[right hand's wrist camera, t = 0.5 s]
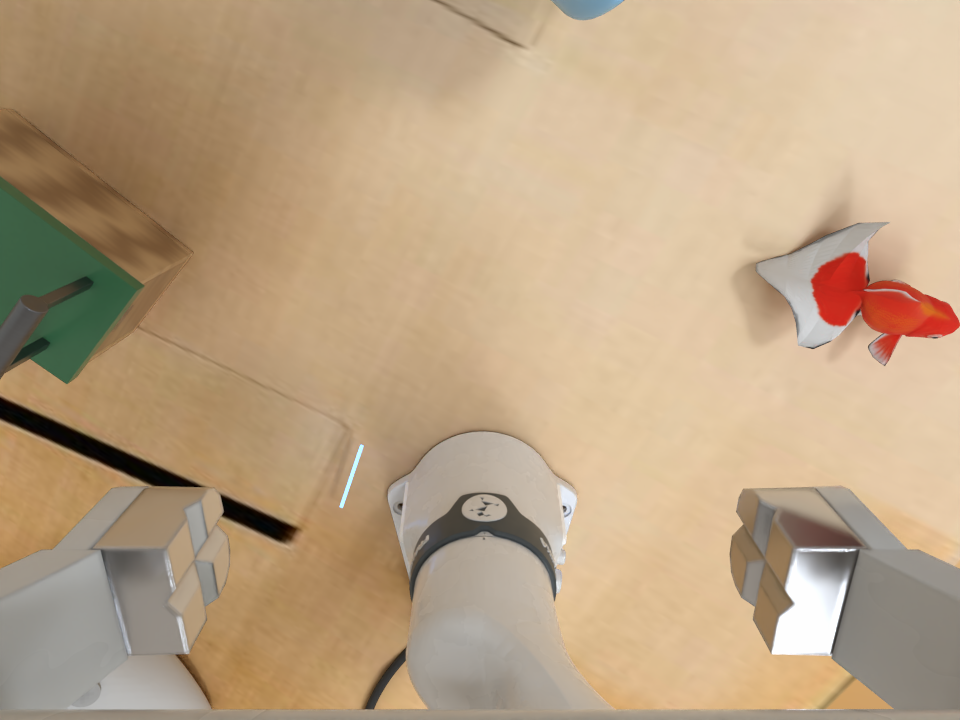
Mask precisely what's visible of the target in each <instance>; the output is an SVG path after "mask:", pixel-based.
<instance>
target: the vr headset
mask: <svg viewBox="0 0 960 720" xmlns="http://www.w3.org/2000/svg"><path fill="white" fill-rule="evenodd" d="M66 709H212V708H211V706H210V704H209V702H208V700H207V698H206V697H205V695H204V693H203V692H202V690H201V688H200V687H199V685H198V684H197V682H196V681H195V680H194V678H193V677H192V675H191V674H190V673H189V671H188V670H187V669H186V667H185V666H184V665H183V664H182V662H181V661H180V660H179V659H178V658H177V656H176V655H175V654H171V655H136V656H128V659H127V660H126V661H125V662H124V663H123V664H121V665H120V666H119V667H118V668H116V669H115V670H114V671H113V672H111V673H110V674H109V675H108V676H106V677H105V678H104V679H103V680H101V681H100V682H99V683H98V684H96V685H95V686H94V687H93V688H91V689H90V690H89V691H88V692H86V693H85V694H84V695H83V696H81V697H80V698H79V699H78V700H76V701H75V702H74V703H73V704H71V705H70V706H69V707H68V708H66Z"/></svg>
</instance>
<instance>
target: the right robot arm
mask: <svg viewBox="0 0 960 720" xmlns="http://www.w3.org/2000/svg"><path fill="white" fill-rule="evenodd" d="M363 446H364V445H360V447H359V450H358V453H357V456H356V459H355V462H354V465H353V468H352V471H351V474H350V477H349V480H348V483H347V486H346V489H345V492H344V495H343V498H342V501H341V504H340V507H341V508H343V505H344V502H345V499H346V496H347V493H348V490H349V487H350V485H351V482H352V479H353V476H354V473H355V470H356V467H357V464H358V461H359V458H360V455H361V452H362V449H363ZM388 503H389V506H390V510H391V514H392V517H393V521H394V525H395V528H396V532H397V536H398V539H399V543H400V547H401V550H402V554H403V558H404V562H405V565H406V569H407V573H408V576H409V580H410V583H409V584H410V596H411V600H412V610H411V617H410V625H409V633H408V640H407V648H406V649H405V650H404V651H403V652H402V653H401V654H400V655H399V656H398V657H397V659H396V660H395V661H394V662H393V663H392V664H391V666H390V667H389V668H388V670H387V671H386V672H385V674H384V675H383V676H382V678H381V679H380V681H379V682H378V684H377V686H376V687H375V689H374V691H373V693H372V695H371V697H370V699H369V701H368V703H367V706H366V708H365V709H66V708H68V707H69V706H70V705H71V704H73V703H74V702H75V701H76V700H78V699H79V698H80V697H81V696H83V695H84V694H85V693H86V692H88V691H89V690H90V689H91V688H93V687H94V686H95V685H96V684H98V683H99V682H100V681H101V680H103V679H104V678H105V677H106V676H108V675H109V674H110V673H111V672H113V671H114V670H115V669H116V668H118V667H119V666H120V665H121V664H123V663H124V662H125V661H126V660H127V659H128V656H136V655H171V654H189V652H190V650H191V649H192V647H193V645H194V643H195V641H196V639H197V637H198V635H199V634H200V632H201V630H202V628H203V626H204V624H205V622H206V621H207V616H206V610H205V606H207V605H208V604H210V603H211V602H213V601H214V600H216V599H217V598H219V596H220V594H221V592H222V590H223V588H224V586H225V584H226V580H227V575H228V571H229V567H230V546H229V540H228V536H227V535H226V534H225V533H224V532H223V531H222V529H221V528H220V527H219V526H218V525H217V522H218V521H219V519H220V517H221V516H222V514H223V512H224V510H223V506H222V501H221V496H220V493H219V492H218V491H217V490H216V489H215V488H202V487H148V486H120V487H116V488H111V490H110V491H109V492H108V493H107V494H106V495H105V496H104V497H103V498H102V499H101V500H100V501H99V502H98V503H97V504H96V505H95V506H94V507H93V508H92V509H91V510H90V511H89V512H88V513H87V514H86V515H85V516H84V517H83V518H82V519H81V521H80V522H79V523H78V524H77V525H76V526H75V527H74V528H73V529H72V530H71V531H70V532H69V533H68V534H67V535H66V536H65V537H64V538H63V539H62V540H61V541H60V542H59V543H58V544H57V545H56V546H55V547H54V548H53V549H52V550H40V551H38V552H35V553H33V554H31V555H29V556H27V557H25V558H22V559H20V560H18V561H16V562H14V563H12V564H9V565H7V566H5V567H3V568H1V569H0V720H960V569H959V568H957V567H955V566H953V565H950V564H948V563H946V562H944V561H942V560H940V559H937V558H935V557H933V556H931V555H929V554H927V553H925V552H922V551H920V550H908V549H907V548H906V547H905V546H904V545H903V544H902V543H901V542H900V541H899V540H898V539H897V538H896V537H895V536H894V535H893V534H892V533H891V532H890V531H889V530H888V529H887V528H886V527H885V526H884V525H883V524H882V522H881V521H880V520H879V519H878V518H877V517H876V516H875V515H874V514H873V513H872V512H871V511H870V510H869V509H868V508H867V507H866V506H865V505H864V504H863V503H862V502H861V501H860V500H859V499H858V498H857V497H856V496H855V494H854V493H853V492H852V491H851V490H850V489H847V488H845V487H843V486H822V487H799V488H758V489H743V490H742V492H741V494H740V496H739V499H738V505H737V510H736V512H737V514H738V516H739V517H740V519H741V521H742V522H743V525H742V526H741V527H740V528H739V529H738V531H737V532H736V533H735V534H734V535H733V536H732V540H731V548H730V564H731V573H732V576H733V580H734V583H735V586H736V588H737V590H738V592H739V594H740V596H741V598H743V599H744V600H746V601H747V602H749V603H750V604H752V605H753V606H755V610H754V616H753V621H754V622H755V624H756V626H757V628H758V630H759V632H760V634H761V635H762V637H763V639H764V641H765V643H766V645H767V647H768V648H769V650H770V652H771V654H787V655H824V656H832V659H833V660H834V661H835V662H837V663H838V664H839V665H840V666H842V667H843V668H844V669H845V670H846V671H848V672H849V673H850V674H851V675H853V676H854V677H855V678H856V679H858V680H859V681H860V682H861V683H863V684H864V685H865V686H866V687H868V688H869V689H870V690H871V691H873V692H874V693H875V694H876V695H878V696H879V697H880V698H881V699H883V700H884V701H885V702H886V703H888V704H889V705H890V706H891V707H893V708H894V709H614V708H613V707H612V706H611V705H610V704H609V703H607V702H606V701H605V700H604V699H603V698H602V697H601V696H600V695H599V694H598V693H597V692H596V691H595V690H594V688H593V687H592V686H591V685H590V684H589V683H588V682H587V681H586V679H585V678H584V677H583V676H582V674H581V673H580V672H579V671H578V669H577V668H576V666H575V665H574V663H573V662H572V660H571V658H570V656H569V654H568V653H567V650H566V648H565V645H564V641H563V638H562V634H561V630H560V627H559V622H558V618H557V614H556V609H555V604H554V601H555V597H556V594H557V593H559V592H560V589H561V583H562V573H561V570H559V569H556V566H557V564H559V565H560V564H561V565H563V564H564V562H565V557H566V552H565V550H563V549H562V548H563V545H564V544H566V535H567V532H568V529H569V526H570V523H571V519H572V516H573V513H574V510H575V507H576V504H577V492H576V490H575V489H574V488H573V487H572V486H571V485H570V484H569V483H567V482H566V481H564V480H562V479H561V478H559V477H557V476H556V475H555V474H554V473H553V472H552V471H551V470H550V468H549V467H548V465H547V464H546V463H545V461H544V460H543V458H542V457H541V456H540V455H539V454H538V453H537V452H536V451H535V450H534V449H533V448H531V447H530V446H529V445H527V444H526V443H524V442H522V441H520V440H518V439H516V438H514V437H511V436H508V435H505V434H501V433H496V432H486V431H478V432H469V433H464V434H460V435H457V436H454V437H451V438H449V439H447V440H445V441H443V442H441V443H439V444H438V445H436V446H435V447H434V448H432V449H431V450H430V451H429V452H428V453H427V454H426V455H425V456H424V457H423V458H422V460H421V461H420V462H419V464H418V465H417V466H416V468H415V469H414V470H413V471H412V472H411V473H410V474H408V475H406V476H404V477H402V478H401V479H399V480H397V481H396V482H394V483H393V484H392V485H391V486H390V487H389V489H388ZM400 503H403V506H400V505H399V504H400ZM563 506H566V507H565V508H563ZM405 661H406V664H407V670H408V674H409V677H410V680H411V682H412V685H413V687H414V689H415V690H416V692H417V694H418V695H419V697H420V698H421V700H422V701H423V703H424V704H425V706H426V707H427V708H428V709H374V708H375V705H376V703H377V701H378V699H379V697H380V695H381V693H382V692H383V690H384V688H385V687H386V685H387V684H388V682H389V681H390V679H391V678H392V676H393V675H394V674H395V672H396V671H397V670H398V669H399V668H400V666H401V665H402V664H403V663H404V662H405Z"/></svg>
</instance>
